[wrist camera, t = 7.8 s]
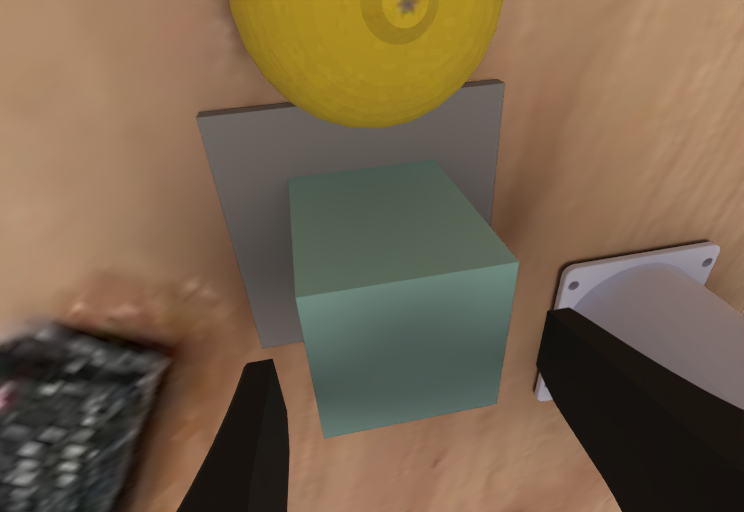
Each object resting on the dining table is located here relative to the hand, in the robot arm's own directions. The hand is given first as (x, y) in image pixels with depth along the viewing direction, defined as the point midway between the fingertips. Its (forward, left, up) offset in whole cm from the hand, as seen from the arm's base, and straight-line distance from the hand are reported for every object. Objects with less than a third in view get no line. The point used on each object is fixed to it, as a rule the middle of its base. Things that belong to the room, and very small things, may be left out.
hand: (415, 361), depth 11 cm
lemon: (+8, 0, -7) cm, 11 cm away
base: (0, 0, -7) cm, 7 cm away
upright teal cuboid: (0, 0, -7) cm, 7 cm away
